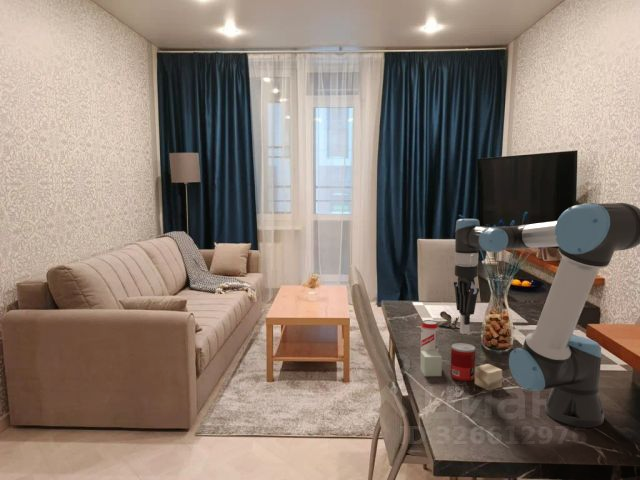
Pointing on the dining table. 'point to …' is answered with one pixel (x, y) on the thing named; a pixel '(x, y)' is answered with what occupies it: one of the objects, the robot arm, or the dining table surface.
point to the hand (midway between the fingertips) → (464, 332)
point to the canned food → (462, 362)
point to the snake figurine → (448, 318)
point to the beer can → (429, 336)
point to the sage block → (431, 363)
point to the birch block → (488, 377)
